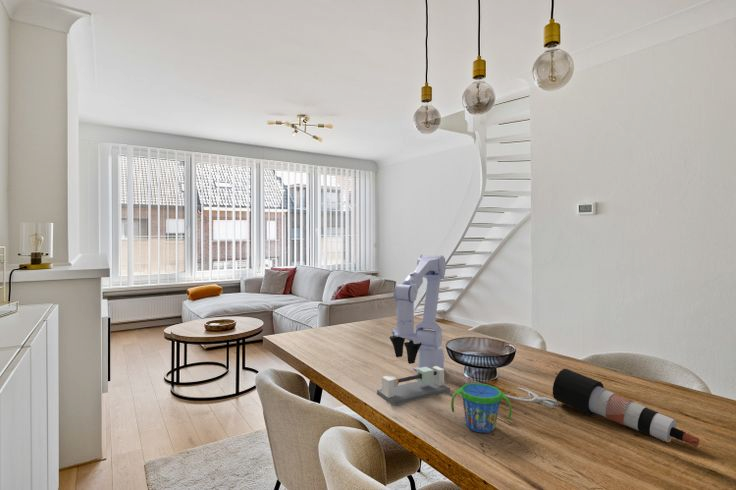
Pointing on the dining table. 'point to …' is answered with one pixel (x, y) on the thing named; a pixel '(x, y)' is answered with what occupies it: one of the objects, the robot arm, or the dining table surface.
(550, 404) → the pliers
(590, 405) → the cable
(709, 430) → the dining table surface
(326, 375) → the dining table surface
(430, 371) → the marker sleeve
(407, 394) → the cord rig
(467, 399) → the snack cup
